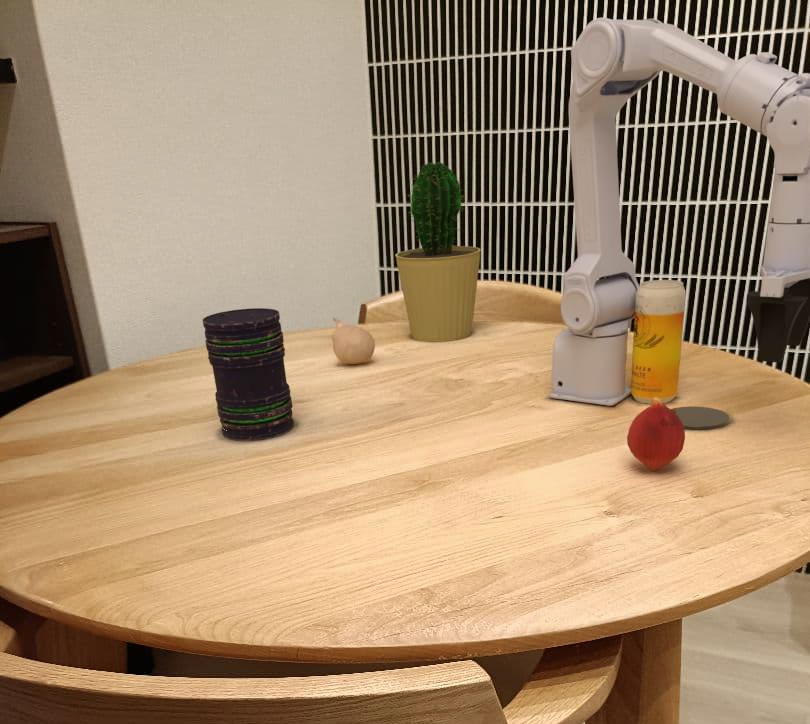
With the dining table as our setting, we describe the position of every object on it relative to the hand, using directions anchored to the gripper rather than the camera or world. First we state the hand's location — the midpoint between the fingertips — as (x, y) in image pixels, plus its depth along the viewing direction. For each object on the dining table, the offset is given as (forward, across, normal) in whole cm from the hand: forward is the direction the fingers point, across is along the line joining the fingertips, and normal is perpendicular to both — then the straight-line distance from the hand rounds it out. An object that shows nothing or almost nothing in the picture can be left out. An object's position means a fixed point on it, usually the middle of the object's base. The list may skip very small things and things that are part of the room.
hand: (780, 352), depth 90 cm
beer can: (+10, +9, +17) cm, 22 cm away
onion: (+10, -15, +8) cm, 20 cm away
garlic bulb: (+10, +8, +68) cm, 70 cm away
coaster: (+10, +3, +10) cm, 14 cm away
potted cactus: (+10, +31, +67) cm, 74 cm away
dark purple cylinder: (+10, -25, +59) cm, 65 cm away
